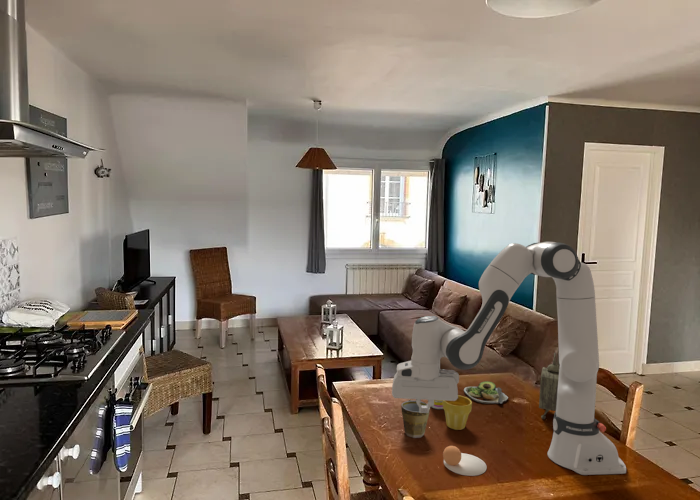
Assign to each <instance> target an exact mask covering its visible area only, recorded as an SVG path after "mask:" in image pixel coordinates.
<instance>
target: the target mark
mask: <svg viewBox="0 0 700 500" xmlns="http://www.w3.org/2000/svg"><path fill="white" fill-rule="evenodd" d="M443 465H444V466H445V467H446V468H447V469H448V470H449V471H451V472H453V473H455V474H457V475H462V476H468V477H469V476H470V477H476V476H481V475H482V474H484V473H485V472H486V471H487V468H488V467H487V464H486V462H485V461H484V460H482V459H481V458H479V457H478V456H475V455H473V454H470V453H469V454H468V453H463V452H461V461H460V462H459V463H458V464H457V465H449V464H447V463H446V462H445V460H444V459H443Z"/></svg>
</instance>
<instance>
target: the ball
mask: <svg viewBox="0 0 700 500" xmlns="http://www.w3.org/2000/svg"><path fill="white" fill-rule="evenodd" d="M461 453H462V452H461V450H460V448H458V447H457V446H455V445H449V446H446V447H445V448H444V450H443V452H442V457H443V461H444V460H445V462H446V463H447V464H449V465H457V464H458V463H459V462H460V461H461Z"/></svg>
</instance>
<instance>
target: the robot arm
mask: <svg viewBox="0 0 700 500" xmlns="http://www.w3.org/2000/svg"><path fill="white" fill-rule="evenodd" d="M529 275H534V276H539V277H543V278H552V280H553V281H554V284H555V288H556V289H555V290H556V295H555V296H556V297H555V298H556V311H557V333H558V334H557V338H558V339H557V341H558V342H557V343H558V364H559V379H558V391H557V405H556V411H554V415H553V420H552V426H553V427H552V429H553V433H552V439H551V442H550V446H549V449H548V451H547V457H548V458H549V459H550V460H551V461H552V462H554V463H555V464H556V465H559V466H560V467H563V468H565V469H568V470H572V471H574V472H575V473H576V474H579V475H582V476H588V475H589V476H591V475H620V474H621V475H623V474H627V467H626V464H625V463H624V461H623V460H622V459H621V458H620V457H619V453H618V450H617V447H616V446H615V443H613V442H612V441H611V440H610V439H609V438H608V437H607V436H606V435H605V434H604V432H605V431H607V427H606V425H604V424H603V423H602V422H600V421H599V420H598V419H597V418H595V411H596V397H597V379H598V377H597V376H598V371H599V369H600V356H599V340H598V339H599V338H598V324H597V308H596V307H597V306H596V305H597V304H596V289H595V284H594V280H593V274H592V271H591V268H590V267H589V265H587V264H586V263H584V262H582V261H580V259H579V257H578V253H577V251H575V249H574V248H573V247H572V246H570V245H569V244H566V243H563V242H560V241H559V242H555V241H543V242H533V243H531V244H528V245H527V246H525V245H523V244H521V243H516V242H514V243H512V242H511V243H510V244H507V245H506V246H505V247H504V248H503V249H502V250H501V251H499V253H498V254H497V255H496V256H495V257H493V259H492V260H491V262H490V263H489V264H488V266H487V267H486V268H485V269H484V271H483V273H482V274H481V276H480V278H479V281H478V289H479V293H480V295H481V299H482V300H481V301H482V304H481V307H480V309H479V311H478V312H477V314H476V316H475V317H474V319H473V320H472V322H471V323H470V325H469V327H468V328H467V329H466V330H465V331H464V330H463V329H461V328H460V327H458V326H454V325H451V324H449V323H446V322H445V321H443V320H442V319H440V318H439V317H438V316H436V315H435V316H434V315H425V316H420V317H419V318H417V319H416V320H415V321H414V323H413V328H412V332H411V335H412V336H411V347H412V355H411V359H410V360H408V361H404V362H400V363H398V364H397V365H396V373H395V374H394V376H393V379H392V387H391V395H392V397H393V398H394V399H404V400H405V399H406V400H415V401H416V403H417V405H418V406H419V413H429V414H430V412H429V408H430V409H431V405H432V404H433V400H446V401H456V400H457V398H458V395H459V391H458V389H459V388H458V384H459V383H460V375H459V373H458V372H457V371H455V370H453V369H441V359H442V358H447V360H448V361H449V363H450V364H451V365H452V366H453V367H454V368H456V369H458V370H471V369H473V368H475V367H476V366H477V365H478V364H479V363H480V362H481V359H482V358H483V356H484V355H483V354H484V351H485V347H486V344H487V342H488V340H489V339H490V337H491V335H492V334H493V332H494V330H495V329H496V328H497V326H498V324H499V323H500V321H501V320H502V318H503V316H504V314H505V313H506V310H507V308H508V306H509V303H510V301H511V299H512V297H513V296H514V294H515V292H516V291H517V289H518V288H519V287H520V286H521V284H522V283H523V281H525V278H527V276H529ZM422 400H423V401H424V400H426V401H427V403H426V404H427V405H426V406H421V404H420V402H422ZM602 432H603V433H602Z"/></svg>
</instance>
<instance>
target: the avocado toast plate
mask: <svg viewBox="0 0 700 500" xmlns="http://www.w3.org/2000/svg"><path fill="white" fill-rule="evenodd" d="M502 390H503V389H502V388H501V387H499V386H498V387H497V386H496V384H495V383H494V382H492V381H485V380H484V381H482V382H479V384H478V385H477V386H466V387H464V389H463V392H464V394H465V395H466V397H468V398H469V399H470V400H473V401H475V402H477V403H481V404H486V405H487V404H489V405H490V404H491V405H492V404H494V405H495V404H498V405H499V404H501V405H502V404H503V403H505V402H507V400H508V399H509V397H508V396H507V395H506V394H505V393H504V392H502ZM477 398H482V399H484V400H481V399H477Z"/></svg>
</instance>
